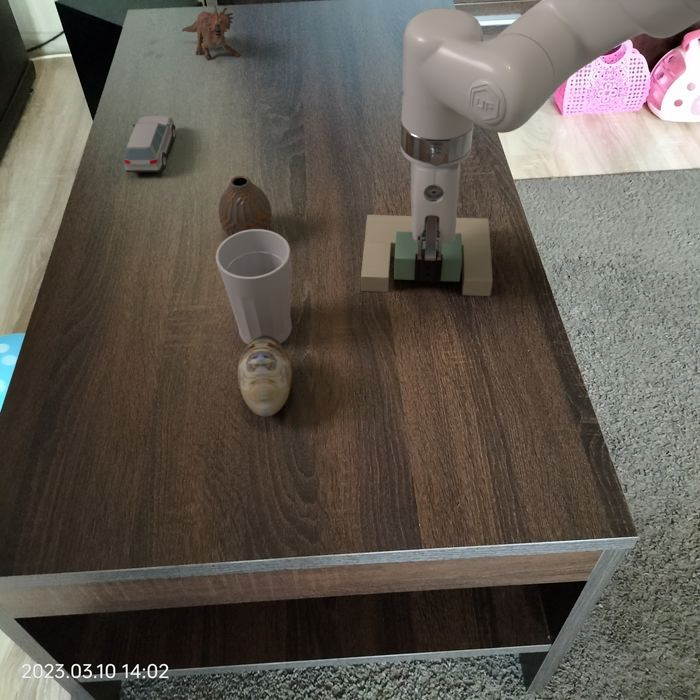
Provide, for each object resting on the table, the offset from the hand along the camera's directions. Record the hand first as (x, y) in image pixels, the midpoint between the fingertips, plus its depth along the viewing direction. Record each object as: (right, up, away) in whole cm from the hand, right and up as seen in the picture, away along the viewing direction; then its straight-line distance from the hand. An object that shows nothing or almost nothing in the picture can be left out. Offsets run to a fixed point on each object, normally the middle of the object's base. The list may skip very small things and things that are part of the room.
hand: (427, 263), depth 90 cm
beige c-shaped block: (0, +1, +4) cm, 4 cm away
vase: (-23, +5, +8) cm, 25 cm away
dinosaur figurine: (-34, +43, +42) cm, 69 cm away
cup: (-20, -8, -3) cm, 22 cm away
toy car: (-40, +19, +21) cm, 49 cm away
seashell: (-19, -16, -10) cm, 26 cm away
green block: (0, 0, 0) cm, 1 cm away
